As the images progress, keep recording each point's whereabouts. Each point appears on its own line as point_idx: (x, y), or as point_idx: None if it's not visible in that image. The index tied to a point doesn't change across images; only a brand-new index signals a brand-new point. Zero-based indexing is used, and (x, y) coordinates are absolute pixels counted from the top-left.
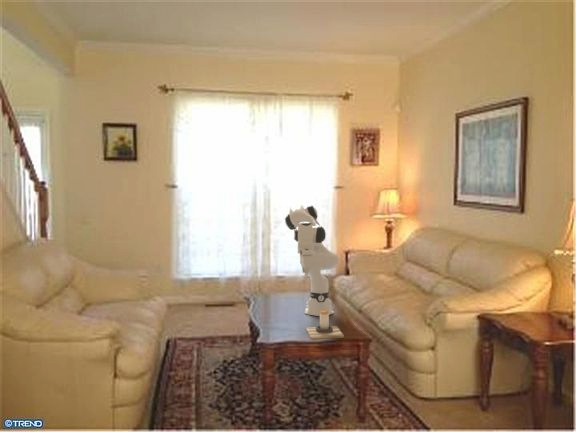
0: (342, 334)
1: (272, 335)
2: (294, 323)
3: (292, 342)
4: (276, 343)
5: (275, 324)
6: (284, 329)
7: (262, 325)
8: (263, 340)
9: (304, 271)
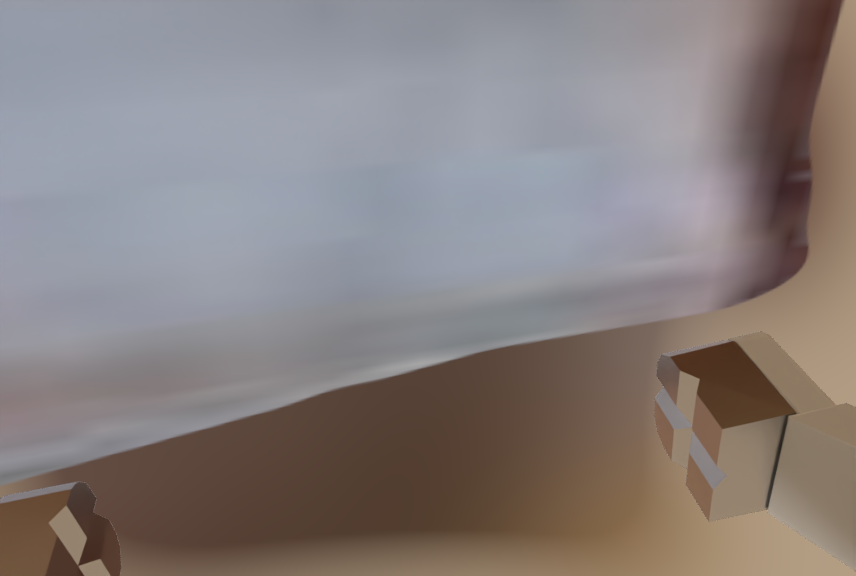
0: None
1: (571, 267)
2: (136, 118)
3: (787, 92)
4: (781, 212)
5: (221, 291)
6: (388, 196)
7: (275, 381)
8: (690, 307)
9: (84, 554)
